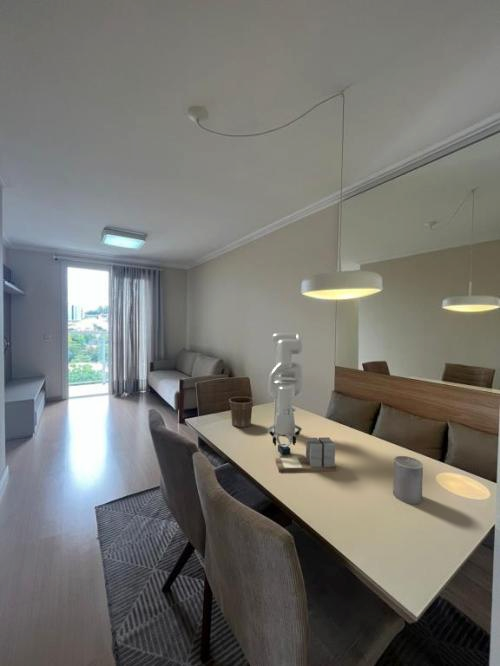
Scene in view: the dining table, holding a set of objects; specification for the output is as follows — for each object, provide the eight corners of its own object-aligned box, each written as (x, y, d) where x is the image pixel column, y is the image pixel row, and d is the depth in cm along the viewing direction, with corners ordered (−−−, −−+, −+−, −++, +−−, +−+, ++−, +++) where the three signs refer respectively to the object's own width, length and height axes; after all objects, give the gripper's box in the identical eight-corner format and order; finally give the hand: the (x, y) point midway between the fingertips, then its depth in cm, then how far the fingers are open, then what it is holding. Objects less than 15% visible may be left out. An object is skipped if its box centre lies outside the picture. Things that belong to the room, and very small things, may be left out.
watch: (293, 453, 143) (294, 432, 143) (279, 455, 141) (279, 433, 140) (288, 449, 149) (289, 428, 148) (274, 451, 146) (274, 429, 146)
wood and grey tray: (275, 461, 135) (275, 437, 135) (328, 460, 137) (329, 436, 137) (279, 472, 125) (279, 446, 125) (336, 470, 127) (337, 445, 127)
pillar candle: (396, 486, 116) (397, 450, 115) (424, 495, 110) (425, 457, 109) (390, 497, 108) (391, 459, 108) (419, 508, 102) (421, 467, 101)
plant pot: (225, 421, 188) (225, 397, 187) (247, 418, 195) (247, 395, 194) (234, 430, 173) (234, 404, 173) (257, 426, 180) (258, 401, 179)
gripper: (299, 408, 148) (299, 441, 148) (267, 408, 147) (266, 441, 147) (303, 412, 141) (302, 447, 141) (269, 413, 139) (268, 447, 140)
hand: (284, 444), depth 144 cm, fingers open, 9 cm apart
